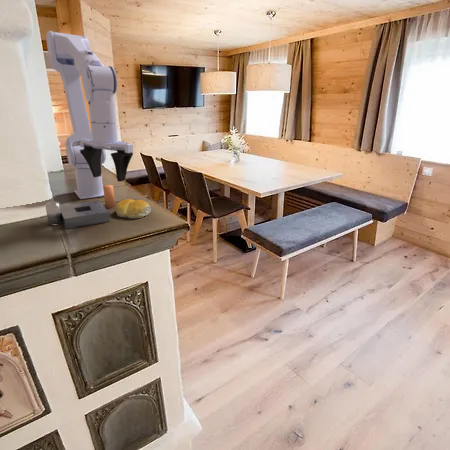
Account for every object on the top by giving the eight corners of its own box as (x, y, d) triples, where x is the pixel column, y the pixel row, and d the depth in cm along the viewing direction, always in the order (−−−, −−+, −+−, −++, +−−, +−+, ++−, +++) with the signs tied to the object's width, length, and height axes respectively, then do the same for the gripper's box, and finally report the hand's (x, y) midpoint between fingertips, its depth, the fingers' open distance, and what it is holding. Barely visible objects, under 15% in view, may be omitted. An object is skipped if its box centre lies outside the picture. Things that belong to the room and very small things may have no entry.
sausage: (104, 206, 87) (102, 185, 85) (113, 204, 88) (111, 184, 86) (106, 208, 85) (104, 187, 83) (116, 207, 86) (114, 186, 84)
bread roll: (127, 207, 87) (125, 193, 86) (155, 211, 85) (154, 197, 84) (108, 216, 80) (107, 202, 79) (139, 221, 78) (137, 206, 76)
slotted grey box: (46, 217, 77) (42, 198, 75) (100, 209, 84) (98, 191, 82) (51, 231, 70) (47, 210, 68) (110, 221, 77) (108, 202, 75)
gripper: (66, 121, 72) (74, 178, 77) (117, 125, 67) (122, 186, 72) (89, 119, 78) (95, 172, 83) (137, 124, 73) (140, 179, 78)
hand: (109, 178), depth 78 cm, fingers open, 7 cm apart
